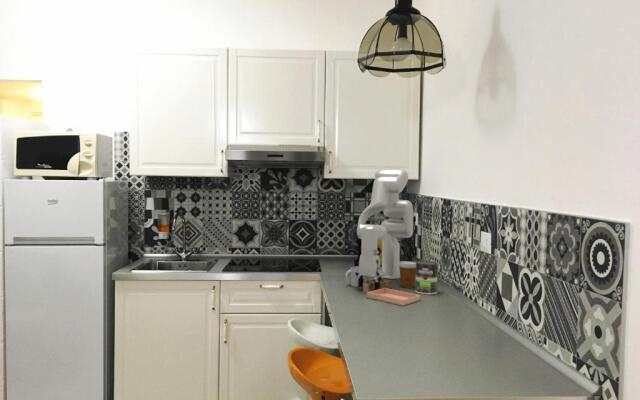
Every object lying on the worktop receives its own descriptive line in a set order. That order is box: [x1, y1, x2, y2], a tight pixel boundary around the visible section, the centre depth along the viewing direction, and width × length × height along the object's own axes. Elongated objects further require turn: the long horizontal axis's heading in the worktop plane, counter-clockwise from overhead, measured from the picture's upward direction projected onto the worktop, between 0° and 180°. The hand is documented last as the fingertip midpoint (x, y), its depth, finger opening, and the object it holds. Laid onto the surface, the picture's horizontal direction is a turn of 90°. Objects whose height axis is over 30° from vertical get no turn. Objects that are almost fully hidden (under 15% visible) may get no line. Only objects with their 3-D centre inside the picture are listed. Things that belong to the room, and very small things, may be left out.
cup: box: [345, 265, 366, 288], centre depth 234 cm, size 7×10×9 cm
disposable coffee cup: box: [398, 260, 417, 289], centre depth 233 cm, size 10×10×12 cm
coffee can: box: [414, 260, 439, 296], centre depth 221 cm, size 10×10×14 cm
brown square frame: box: [362, 278, 391, 293], centre depth 225 cm, size 14×8×4 cm, turn 137°
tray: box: [366, 288, 421, 307], centre depth 207 cm, size 13×19×2 cm
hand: (368, 288), depth 222 cm, fingers open, 9 cm apart
